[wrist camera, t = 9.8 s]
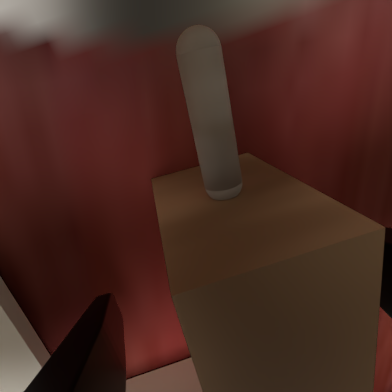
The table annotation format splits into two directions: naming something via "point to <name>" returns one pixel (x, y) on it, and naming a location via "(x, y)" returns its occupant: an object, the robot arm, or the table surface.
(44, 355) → the tool mat
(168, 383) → the switch panel
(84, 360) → the robot arm
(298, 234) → the joystick
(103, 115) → the table surface
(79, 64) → the table surface
